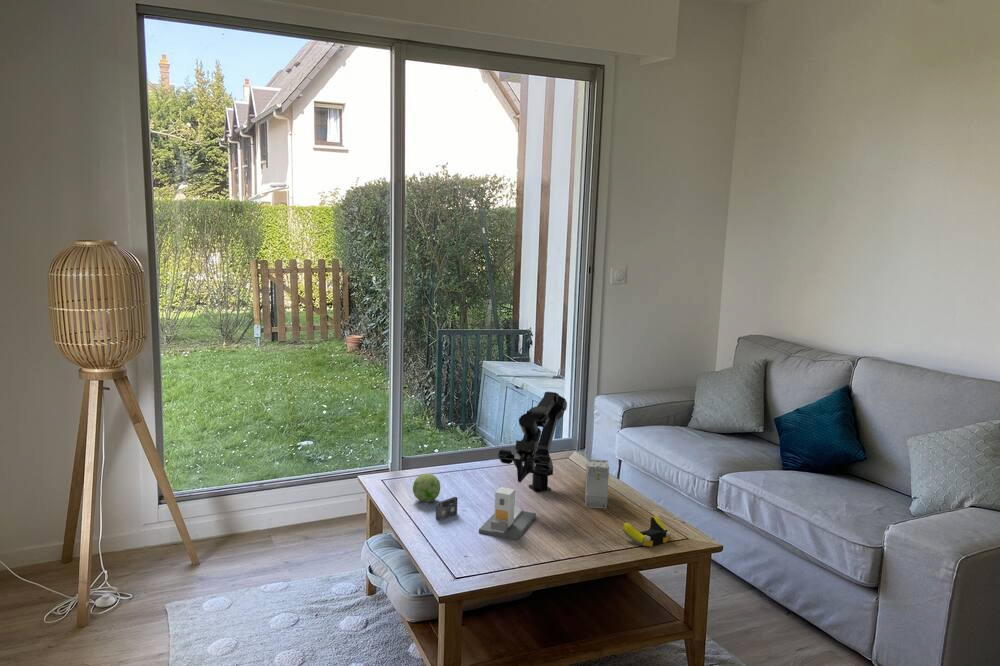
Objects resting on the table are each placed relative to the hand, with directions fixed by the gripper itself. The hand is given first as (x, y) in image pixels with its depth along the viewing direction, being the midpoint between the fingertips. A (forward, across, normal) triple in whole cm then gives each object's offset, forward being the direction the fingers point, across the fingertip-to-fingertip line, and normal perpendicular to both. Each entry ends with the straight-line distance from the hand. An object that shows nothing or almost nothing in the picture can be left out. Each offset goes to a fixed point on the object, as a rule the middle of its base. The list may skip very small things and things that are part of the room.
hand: (519, 481), depth 246 cm
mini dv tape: (+17, -21, -1) cm, 27 cm away
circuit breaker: (-8, +22, +25) cm, 34 cm away
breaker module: (+17, 0, -4) cm, 18 cm away
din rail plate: (+15, 0, +1) cm, 15 cm away
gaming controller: (+10, +45, +7) cm, 46 cm away
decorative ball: (+11, -33, +6) cm, 35 cm away
